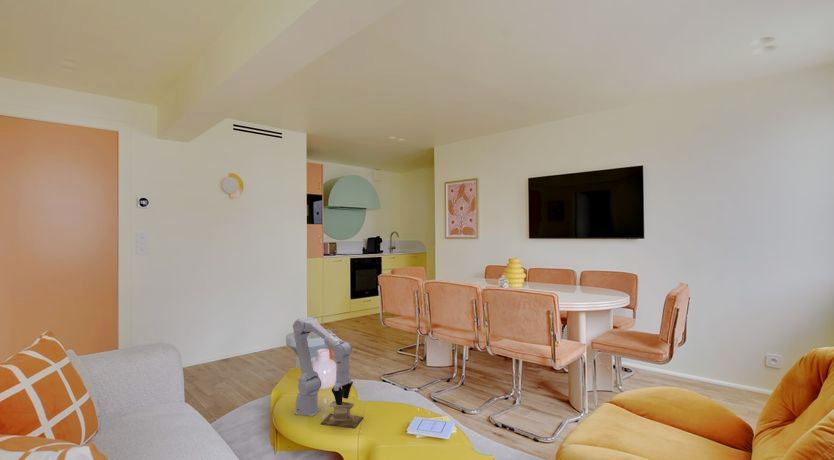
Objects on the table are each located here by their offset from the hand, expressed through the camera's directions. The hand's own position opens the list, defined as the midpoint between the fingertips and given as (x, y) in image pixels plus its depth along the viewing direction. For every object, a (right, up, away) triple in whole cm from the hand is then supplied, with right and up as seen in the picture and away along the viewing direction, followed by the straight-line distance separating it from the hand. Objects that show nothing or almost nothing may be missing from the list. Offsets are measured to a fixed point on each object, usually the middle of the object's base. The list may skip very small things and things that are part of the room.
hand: (342, 401), depth 177 cm
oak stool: (0, -8, 0) cm, 8 cm away
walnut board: (0, -9, 0) cm, 9 cm away
